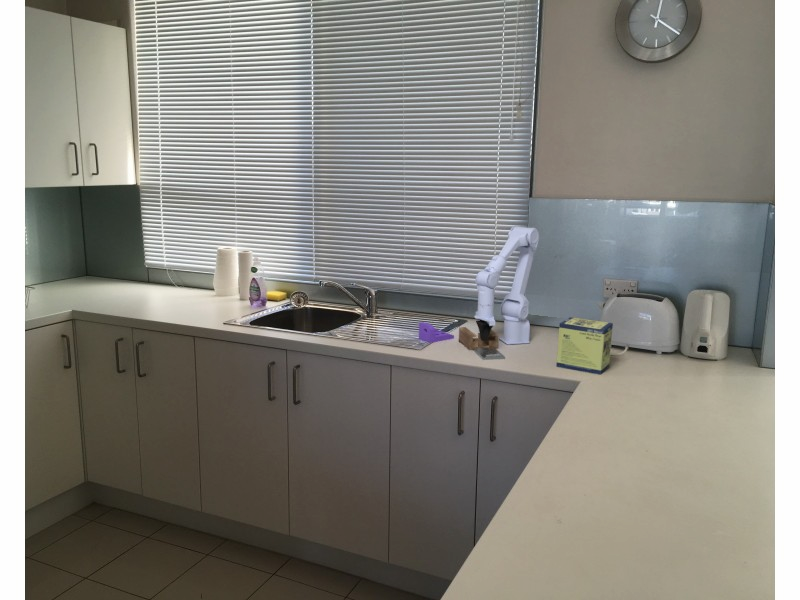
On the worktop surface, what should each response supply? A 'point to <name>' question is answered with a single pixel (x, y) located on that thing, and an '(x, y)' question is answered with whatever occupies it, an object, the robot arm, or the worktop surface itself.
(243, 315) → the worktop surface
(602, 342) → the protein box
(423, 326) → the bracket
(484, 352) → the cover plate
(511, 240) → the robot arm
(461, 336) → the sleeve box
